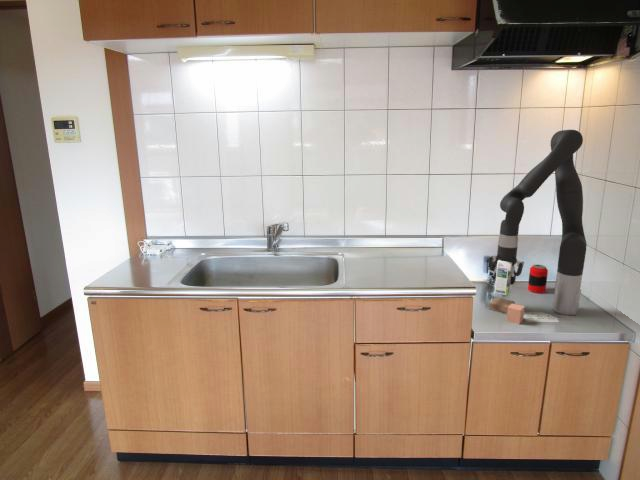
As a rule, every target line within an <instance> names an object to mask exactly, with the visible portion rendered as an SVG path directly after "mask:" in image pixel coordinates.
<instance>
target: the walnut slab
mask: <svg viewBox="0 0 640 480" xmlns="http://www.w3.org/2000/svg"><path fill="white" fill-rule="evenodd" d="M511 304H516V302H515V301H513V300H510V299H505V298H501V297H495V298H494V299H492V300H491V301H490V302H489V306H488V310H490V311H493V312H498V313H501V314H505V315H507V310H508V307H509V306H510V305H511Z"/></svg>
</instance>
